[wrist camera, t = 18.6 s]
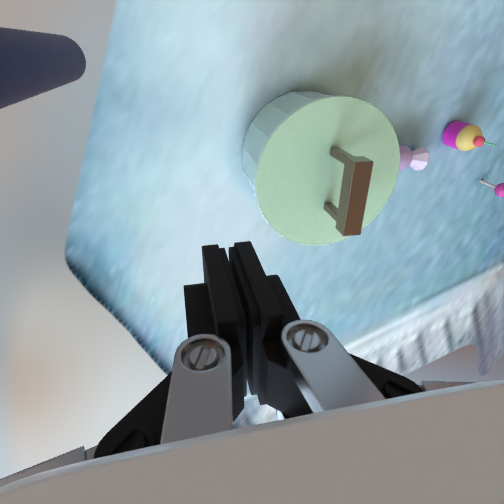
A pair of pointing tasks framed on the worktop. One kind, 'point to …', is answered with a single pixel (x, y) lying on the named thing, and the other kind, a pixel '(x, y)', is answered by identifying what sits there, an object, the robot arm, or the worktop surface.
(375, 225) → the worktop surface
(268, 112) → the canister
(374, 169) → the lid
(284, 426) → the robot arm
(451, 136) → the candies
